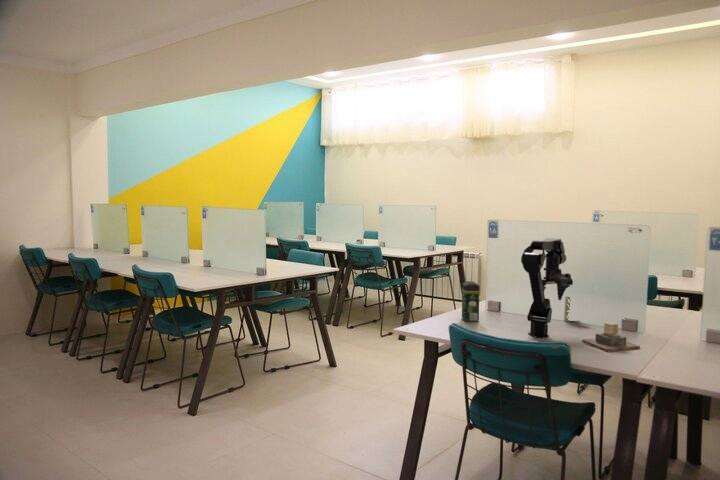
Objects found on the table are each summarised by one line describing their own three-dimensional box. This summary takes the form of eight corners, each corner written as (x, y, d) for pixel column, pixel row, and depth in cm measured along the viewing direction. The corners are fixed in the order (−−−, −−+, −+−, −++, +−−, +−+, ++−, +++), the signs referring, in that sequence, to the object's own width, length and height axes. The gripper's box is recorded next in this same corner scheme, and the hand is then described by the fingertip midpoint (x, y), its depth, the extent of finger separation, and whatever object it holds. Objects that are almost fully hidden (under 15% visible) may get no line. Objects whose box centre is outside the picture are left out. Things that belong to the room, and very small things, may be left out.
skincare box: (563, 321, 260) (564, 296, 258) (564, 319, 263) (565, 294, 262) (578, 322, 257) (579, 297, 256) (579, 320, 260) (580, 295, 259)
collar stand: (607, 351, 210) (607, 341, 210) (582, 342, 223) (582, 332, 223) (639, 348, 215) (640, 338, 215) (613, 339, 228) (613, 329, 228)
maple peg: (610, 344, 217) (611, 324, 216) (603, 341, 220) (604, 322, 219) (617, 343, 218) (618, 324, 217) (610, 341, 221) (611, 322, 221)
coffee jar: (460, 317, 266) (461, 280, 264) (476, 317, 266) (477, 280, 264) (463, 322, 256) (464, 283, 254) (480, 322, 256) (481, 283, 254)
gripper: (546, 269, 231) (544, 305, 233) (582, 268, 237) (580, 303, 238) (530, 266, 242) (529, 300, 243) (565, 264, 248) (563, 298, 249)
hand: (551, 300), depth 243 cm, fingers open, 9 cm apart
